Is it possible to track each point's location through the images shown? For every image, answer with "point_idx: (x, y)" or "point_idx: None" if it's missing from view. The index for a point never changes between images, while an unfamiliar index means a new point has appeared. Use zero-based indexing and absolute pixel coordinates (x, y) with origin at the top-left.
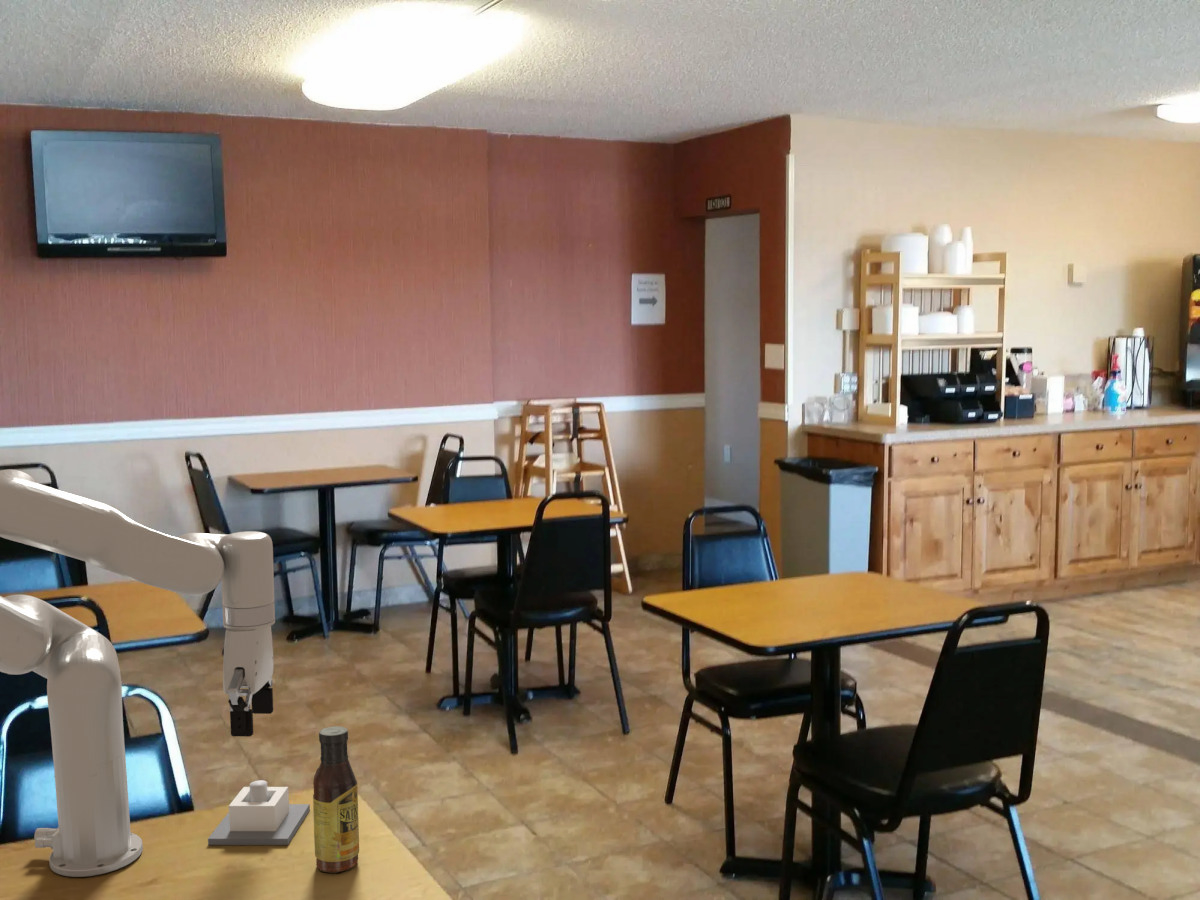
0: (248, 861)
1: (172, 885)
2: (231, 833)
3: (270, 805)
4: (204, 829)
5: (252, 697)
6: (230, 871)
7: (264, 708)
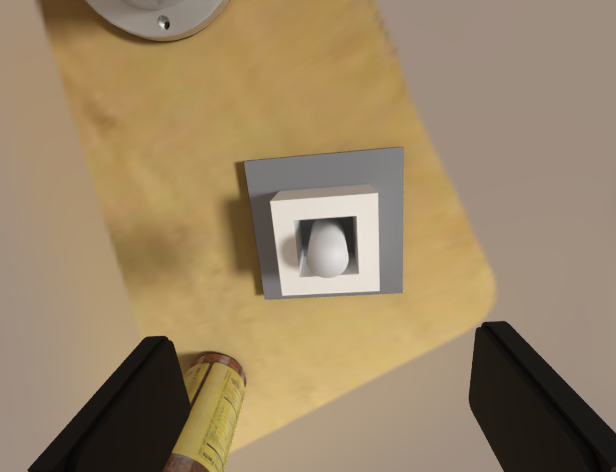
0: (205, 253)
1: (103, 165)
2: (271, 197)
3: (283, 287)
4: (310, 120)
5: (538, 403)
6: (168, 239)
7: (485, 399)
